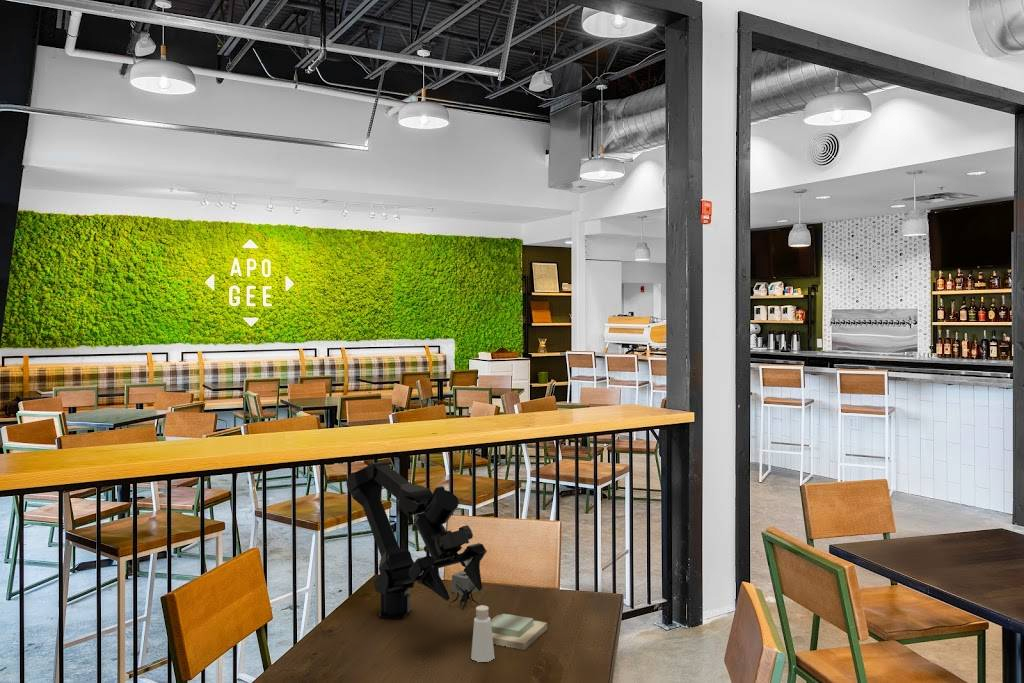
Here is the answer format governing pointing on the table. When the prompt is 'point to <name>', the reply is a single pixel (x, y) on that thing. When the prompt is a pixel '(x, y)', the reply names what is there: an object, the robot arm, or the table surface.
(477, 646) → the salt shaker
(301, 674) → the table surface
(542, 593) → the table surface
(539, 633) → the plinth
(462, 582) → the dice cube
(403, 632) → the table surface
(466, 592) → the creature
